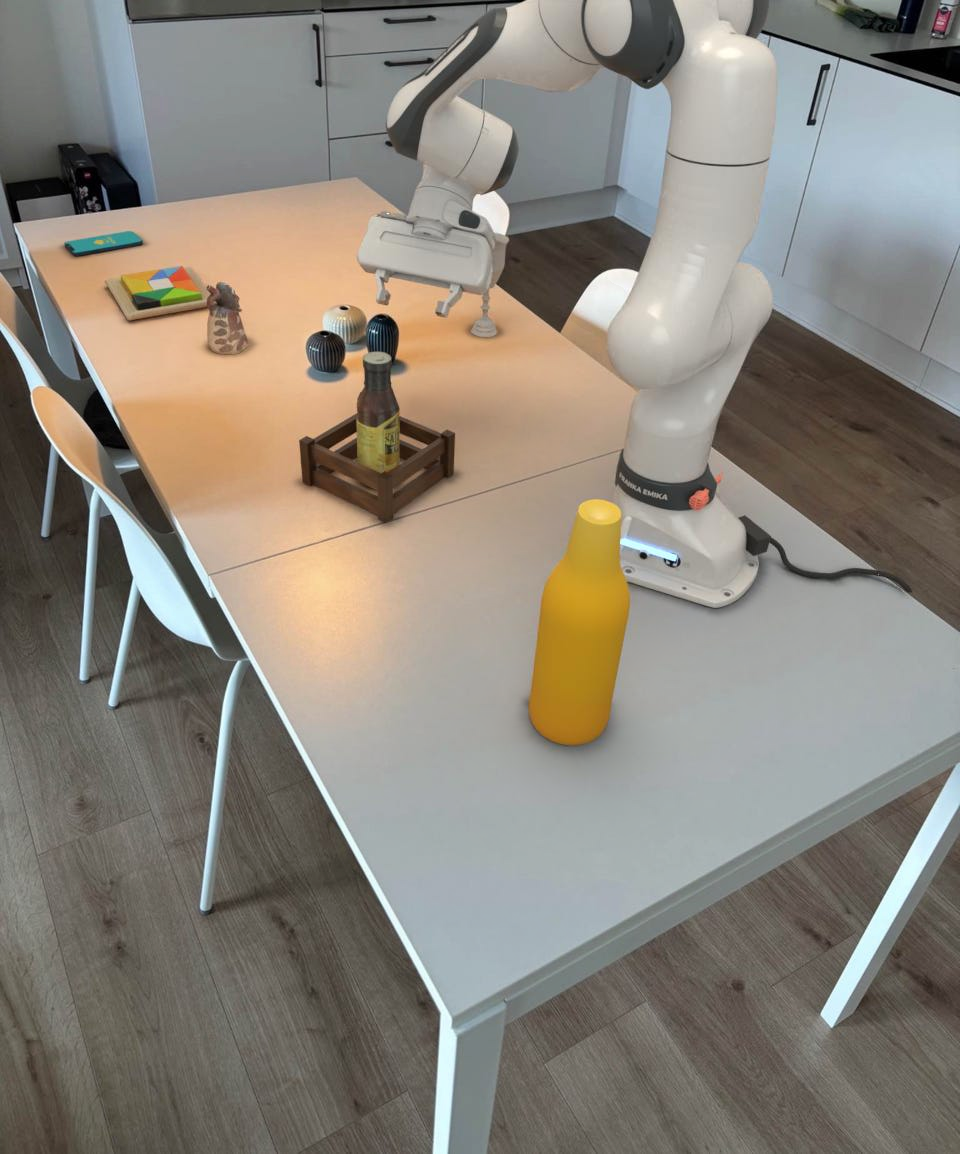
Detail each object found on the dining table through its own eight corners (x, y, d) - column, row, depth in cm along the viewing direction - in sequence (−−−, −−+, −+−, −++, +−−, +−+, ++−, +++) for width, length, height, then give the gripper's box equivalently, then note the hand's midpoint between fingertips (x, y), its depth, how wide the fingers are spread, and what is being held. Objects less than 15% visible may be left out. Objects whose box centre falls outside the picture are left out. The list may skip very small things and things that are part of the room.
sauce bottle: (393, 493, 145) (392, 372, 132) (352, 487, 145) (347, 366, 133) (404, 470, 150) (404, 351, 137) (365, 464, 150) (361, 345, 138)
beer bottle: (529, 747, 108) (554, 539, 90) (526, 686, 115) (548, 482, 97) (612, 749, 108) (654, 542, 90) (603, 689, 115) (641, 486, 97)
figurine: (253, 351, 177) (246, 287, 170) (214, 357, 175) (205, 293, 167) (242, 334, 182) (235, 272, 175) (204, 340, 180) (195, 277, 172)
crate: (453, 474, 149) (455, 432, 145) (386, 523, 139) (385, 479, 134) (372, 438, 156) (371, 397, 151) (302, 482, 146) (298, 440, 141)
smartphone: (143, 240, 213) (74, 252, 205) (144, 244, 213) (74, 256, 206) (131, 230, 217) (63, 241, 210) (132, 233, 218) (63, 245, 210)
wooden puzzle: (130, 324, 183) (126, 307, 181) (104, 287, 195) (101, 270, 193) (220, 308, 190) (218, 291, 188) (190, 273, 203) (187, 256, 200)
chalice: (496, 321, 192) (501, 230, 180) (507, 337, 187) (514, 244, 175) (460, 325, 190) (464, 233, 178) (471, 340, 185) (475, 247, 173)
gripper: (366, 198, 142) (339, 287, 141) (498, 222, 138) (470, 314, 137) (379, 219, 149) (353, 304, 148) (506, 243, 144) (480, 331, 143)
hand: (410, 309), depth 142 cm, fingers open, 8 cm apart
